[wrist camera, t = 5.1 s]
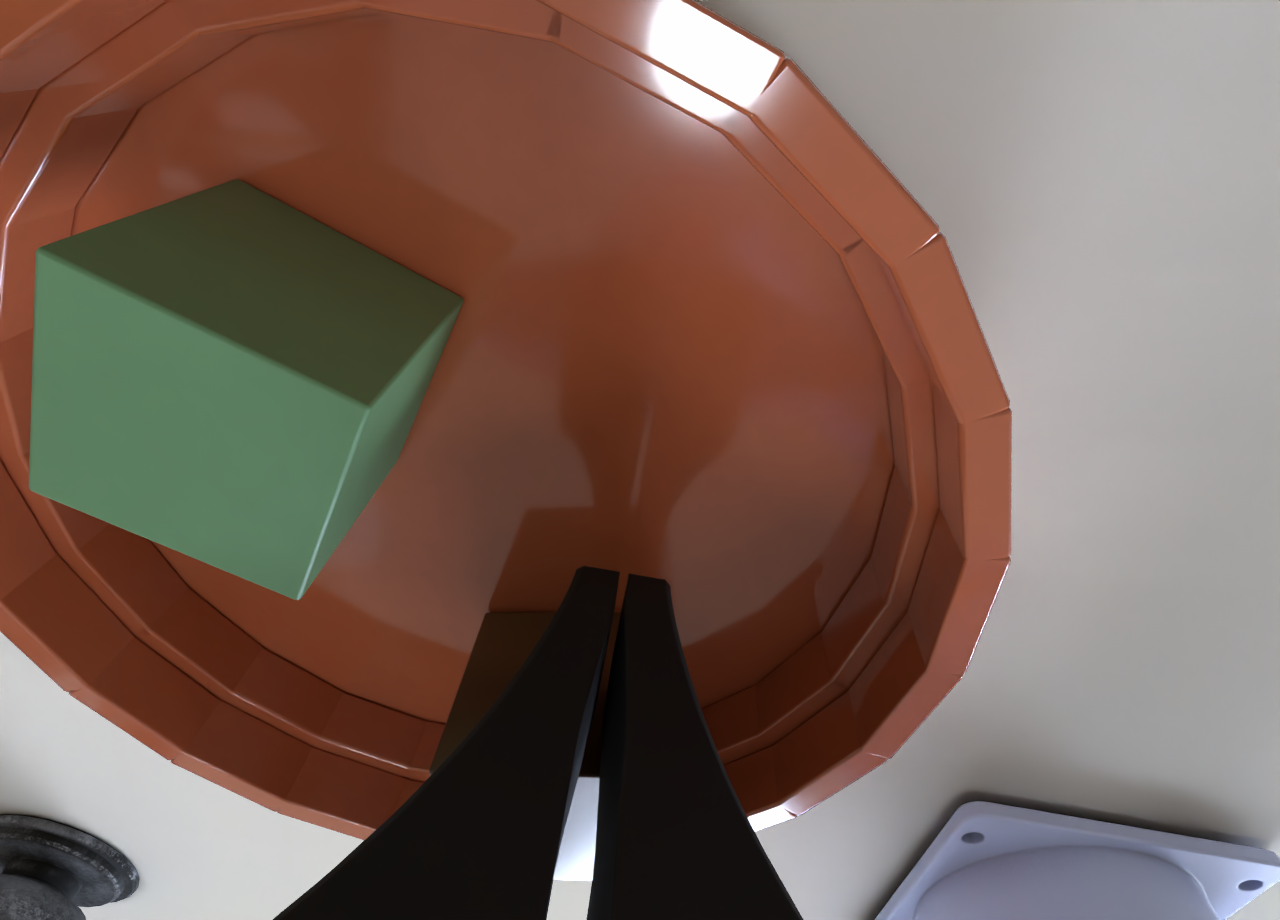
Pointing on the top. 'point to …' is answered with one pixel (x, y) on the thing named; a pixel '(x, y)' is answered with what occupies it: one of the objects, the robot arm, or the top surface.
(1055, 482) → the top surface
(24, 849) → the dark grey tiered piece
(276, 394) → the sage-green cube
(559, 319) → the bowl
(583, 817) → the walnut cube
